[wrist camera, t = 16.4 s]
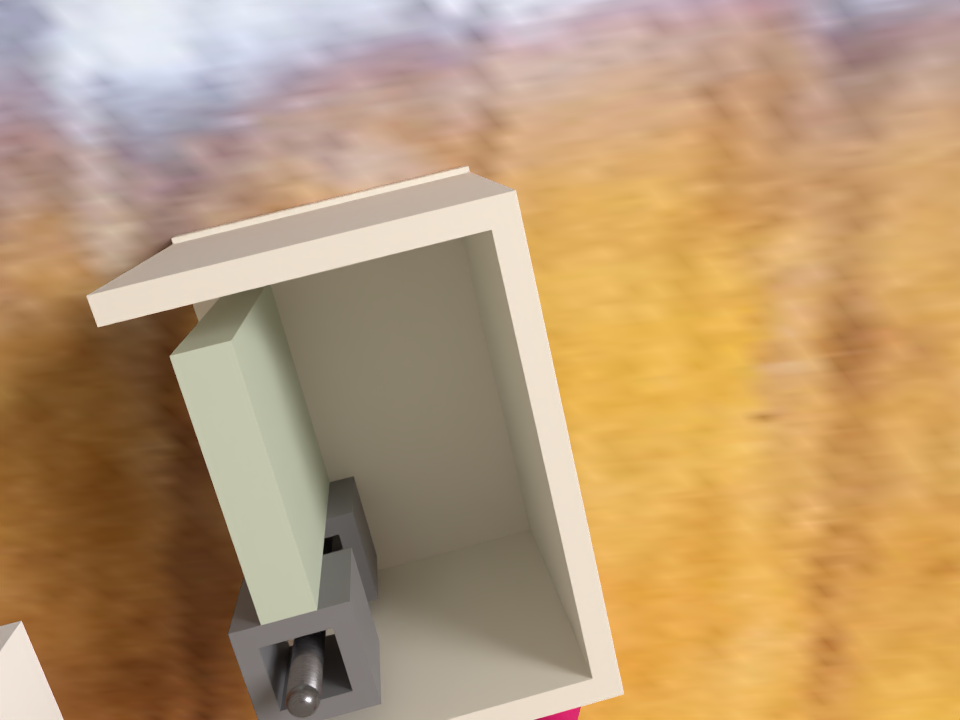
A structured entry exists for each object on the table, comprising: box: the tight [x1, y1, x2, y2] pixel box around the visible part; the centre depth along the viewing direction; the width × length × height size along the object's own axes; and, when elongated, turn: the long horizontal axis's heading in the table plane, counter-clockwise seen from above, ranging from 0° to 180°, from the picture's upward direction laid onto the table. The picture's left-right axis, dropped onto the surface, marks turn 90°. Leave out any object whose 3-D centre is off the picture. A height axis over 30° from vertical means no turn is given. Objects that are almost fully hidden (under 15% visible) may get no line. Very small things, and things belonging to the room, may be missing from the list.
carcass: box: [87, 166, 624, 720], centre depth 43 cm, size 23×16×16 cm
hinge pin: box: [285, 536, 333, 719], centre depth 43 cm, size 1×1×17 cm
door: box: [170, 285, 381, 720], centre depth 43 cm, size 17×5×14 cm, turn 13°
